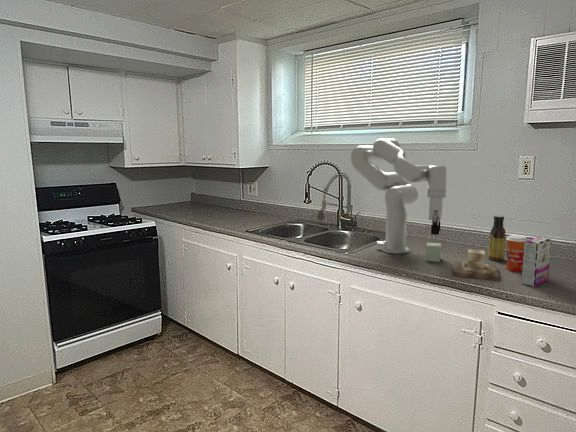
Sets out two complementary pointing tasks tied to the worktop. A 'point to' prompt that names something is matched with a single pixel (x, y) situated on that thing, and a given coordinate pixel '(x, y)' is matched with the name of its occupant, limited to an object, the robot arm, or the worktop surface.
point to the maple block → (476, 259)
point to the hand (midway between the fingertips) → (435, 232)
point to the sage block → (433, 252)
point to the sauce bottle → (497, 239)
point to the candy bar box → (536, 261)
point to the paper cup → (515, 252)
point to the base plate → (476, 271)
